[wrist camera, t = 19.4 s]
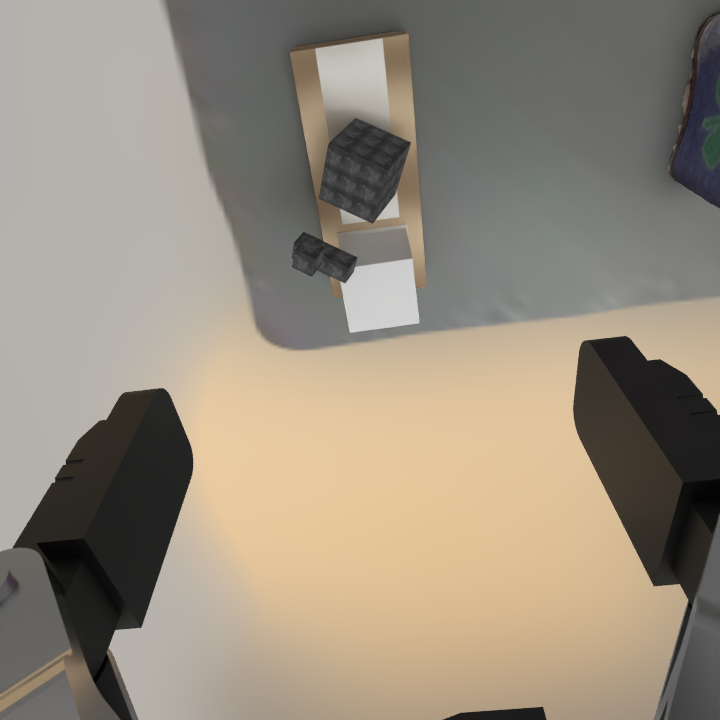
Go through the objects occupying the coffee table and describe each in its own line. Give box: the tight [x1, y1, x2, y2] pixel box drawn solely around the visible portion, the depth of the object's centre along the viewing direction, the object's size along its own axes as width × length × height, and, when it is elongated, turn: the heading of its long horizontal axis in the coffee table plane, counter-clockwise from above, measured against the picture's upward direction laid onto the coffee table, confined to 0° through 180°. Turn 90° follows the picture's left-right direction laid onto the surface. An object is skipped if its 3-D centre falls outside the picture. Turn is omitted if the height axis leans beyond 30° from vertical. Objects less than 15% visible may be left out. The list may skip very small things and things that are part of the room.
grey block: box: [339, 228, 419, 333], centre depth 32 cm, size 4×4×4 cm
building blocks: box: [292, 118, 411, 283], centre depth 28 cm, size 3×6×8 cm, turn 168°
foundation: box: [290, 30, 427, 298], centre depth 33 cm, size 14×6×3 cm, turn 8°
